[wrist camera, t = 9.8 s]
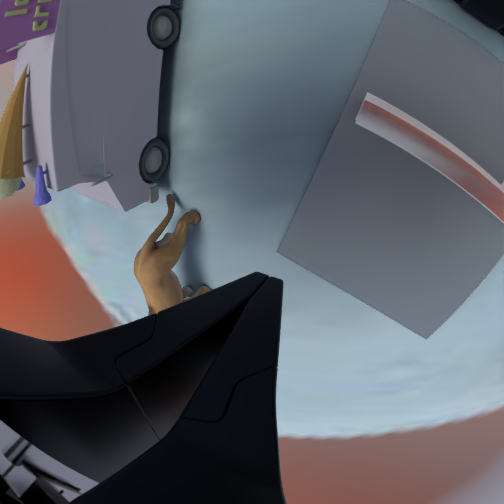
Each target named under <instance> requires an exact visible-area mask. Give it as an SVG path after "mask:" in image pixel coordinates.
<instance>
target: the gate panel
mask: <svg viewBox="0 0 504 504" xmlns="http://www.w3.org/2000/svg"><path fill="white" fill-rule="evenodd" d="M355 123H356V124H358V125H360V126H362V127H364V128H366V129H368V130H370V131H372V132H374V133H375V134H377V135H379V136H381V137H383V138H385V139H386V140H388V141H390V142H392V143H394V144H395V145H397V146H399V147H400V148H402V149H404V150H406V151H407V152H409V153H410V154H412V155H414V156H415V157H417V158H419V159H420V160H422V161H423V162H425V163H426V164H428V165H429V166H431V167H432V168H434V169H435V170H437V171H438V172H440V173H441V174H443V175H444V176H445V177H447V178H448V179H450V180H451V181H452V182H454V183H455V184H456V185H458V186H459V187H461V188H462V189H463V190H464V191H466V192H467V193H468V194H470V195H471V196H472V197H473V198H475V199H476V200H477V201H478V202H480V203H481V204H482V205H483V206H484V207H486V208H487V209H488V210H489V211H490V212H491V213H493V214H494V215H495V216H496V217H497V218H498V219H499V220H501V221H502V222H503V223H504V191H502V190H501V189H500V188H499V187H498V186H497V185H496V184H495V183H493V182H492V181H491V180H490V179H489V178H488V177H486V176H485V175H484V174H483V173H482V172H480V171H479V170H478V169H477V168H476V167H474V166H473V165H472V164H470V163H469V162H468V161H467V160H465V159H464V158H463V157H461V156H460V155H459V154H457V153H456V152H454V151H453V150H452V149H450V148H449V147H447V146H446V145H445V144H443V143H442V142H440V141H439V140H437V139H436V138H434V137H433V136H431V135H429V134H428V133H426V132H425V131H423V130H422V129H420V128H418V127H417V126H415V125H413V124H412V123H410V122H408V121H407V120H405V119H403V118H401V117H400V116H398V115H396V114H394V113H392V112H390V111H389V110H387V109H385V108H383V107H381V106H379V105H377V104H375V103H373V102H371V101H369V100H367V99H365V101H364V103H363V106H362V108H361V110H360V113H359V115H358V117H357V120H356V122H355Z"/></svg>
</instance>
